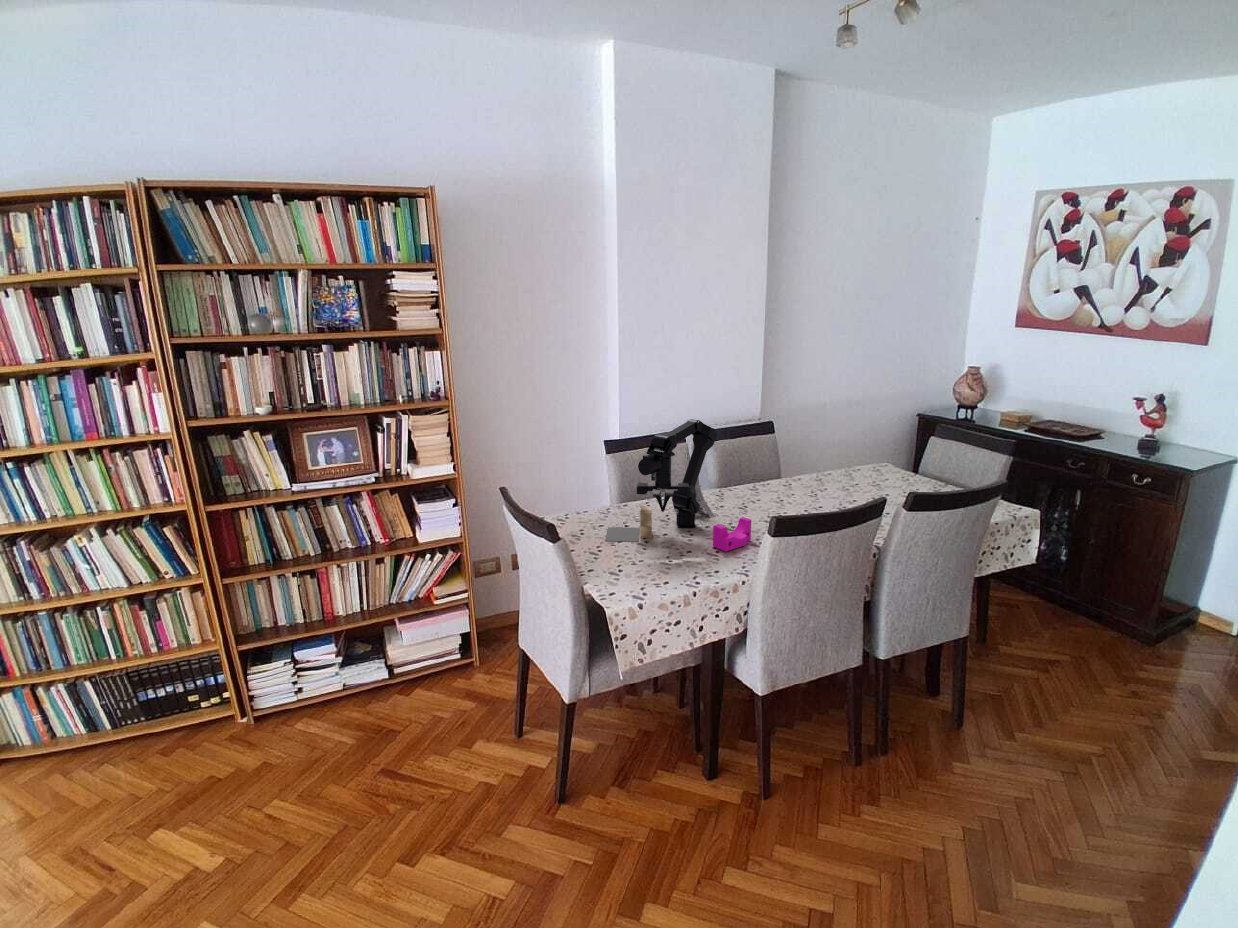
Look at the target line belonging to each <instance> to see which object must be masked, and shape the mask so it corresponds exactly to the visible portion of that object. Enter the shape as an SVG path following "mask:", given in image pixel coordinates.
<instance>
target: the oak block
mask: <svg viewBox="0 0 1238 928" xmlns="http://www.w3.org/2000/svg"><path fill="white" fill-rule="evenodd" d="M639 511H640V513H639V515H640V516H639V517H640V518H639V519H640V520H639V521H640V522H639V523H640V527H639V528H640V532H639V539H652V534H653V532H652V530H653V529H652V528H653V527H652V526H653V525H652V523H653V522H652V521H653V517H652V515H653V513H652V511H653V507H652V506H646V505H645V506H644V505H641V506H640V510H639Z"/></svg>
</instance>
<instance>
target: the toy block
mask: <svg viewBox="0 0 1238 928" xmlns="http://www.w3.org/2000/svg"><path fill="white" fill-rule="evenodd" d="M712 527H713V529H712V547H714V548H717V549H719V550H721V551H724V552H728V551H732V550H734V549H738V548H740V547H744V546H747V544H748V541H751V538H752V519H750V518H747V517H743V516H742V517H740V518H739V520H738V524H737V525H736V527H735V529H734V530H733V531H732V532H728V527H727V526H725V525H722V524H715V525H712Z"/></svg>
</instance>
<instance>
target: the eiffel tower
mask: <svg viewBox="0 0 1238 928" xmlns="http://www.w3.org/2000/svg"><path fill="white" fill-rule="evenodd" d="M693 449H694V444H693V443H692V445H691V450H692V452H693ZM699 477H700V476H698V479H697V482H696V485H695V490H696V501H697V502H698V503H699V504H700V509H703V510H704V511H705V512H706V514H707V516H708V517H709V518H716V517H717V516H716V515H715V514H714V512H713V511H712V509H711V508H710V506H709V505H708V504H707V503H708V501H707V500H706V499H705V497H704V495H703V492H702V490H701V487H702V485H701V484H700V479H699ZM672 510H673V512H678V509H674V508H673V509H672Z"/></svg>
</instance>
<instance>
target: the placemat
mask: <svg viewBox="0 0 1238 928" xmlns="http://www.w3.org/2000/svg"><path fill="white" fill-rule="evenodd" d="M639 541H640V527H628V526H627V527H624V526H623V527H622V526H621V527H620V526H619V527H618V526H617V527H614V526H609V527H607V530H606V534H605V538H604V542H619V543H620V542H621V543H622V542H628V543H630V542H632V543H633V542H634V543H635V542H636V543H637V542H639Z"/></svg>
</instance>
